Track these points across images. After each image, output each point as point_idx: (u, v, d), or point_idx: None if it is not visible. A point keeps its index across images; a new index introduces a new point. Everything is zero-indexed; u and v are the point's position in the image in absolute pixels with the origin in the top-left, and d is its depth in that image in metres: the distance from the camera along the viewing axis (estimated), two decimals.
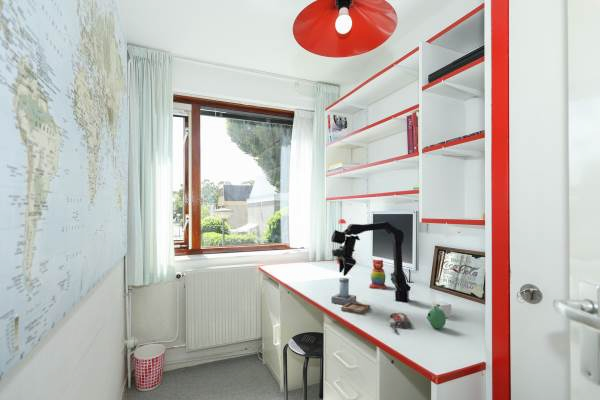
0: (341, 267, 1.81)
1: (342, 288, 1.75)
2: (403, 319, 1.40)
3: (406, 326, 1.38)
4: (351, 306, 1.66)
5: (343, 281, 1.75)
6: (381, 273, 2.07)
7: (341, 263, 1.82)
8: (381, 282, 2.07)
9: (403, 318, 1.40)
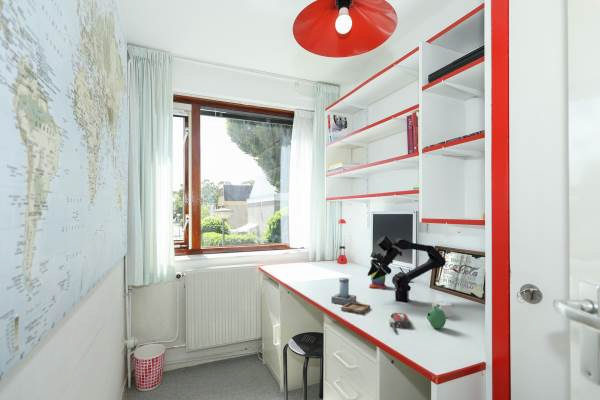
0: (371, 271, 1.83)
1: (342, 288, 1.75)
2: (403, 319, 1.40)
3: (406, 326, 1.38)
4: (351, 306, 1.66)
5: (343, 281, 1.75)
6: None
7: (373, 268, 1.83)
8: (381, 282, 2.07)
9: (403, 318, 1.40)
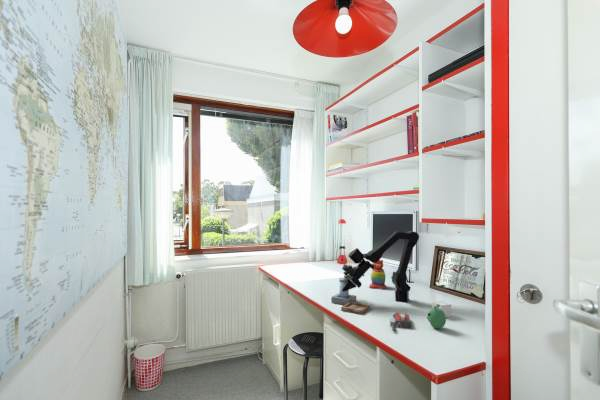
0: None
1: (342, 288, 1.75)
2: (403, 319, 1.40)
3: (406, 326, 1.38)
4: (351, 306, 1.66)
5: (343, 281, 1.75)
6: (381, 273, 2.07)
7: None
8: (381, 282, 2.07)
9: (403, 318, 1.40)
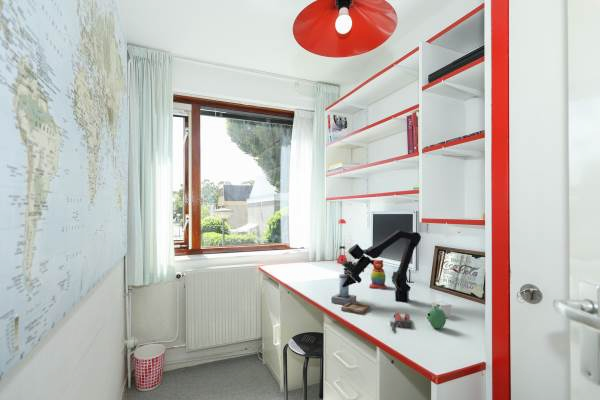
0: None
1: (342, 284, 1.75)
2: (403, 319, 1.40)
3: (406, 326, 1.38)
4: (351, 306, 1.66)
5: (343, 277, 1.75)
6: (381, 273, 2.07)
7: None
8: (381, 282, 2.07)
9: (403, 318, 1.40)
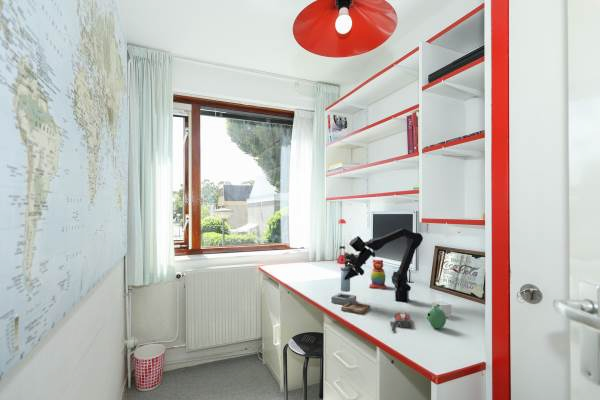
0: None
1: (343, 276, 1.72)
2: (403, 319, 1.40)
3: (406, 326, 1.38)
4: (351, 306, 1.66)
5: (345, 269, 1.72)
6: (381, 273, 2.07)
7: None
8: (381, 282, 2.07)
9: (403, 318, 1.40)
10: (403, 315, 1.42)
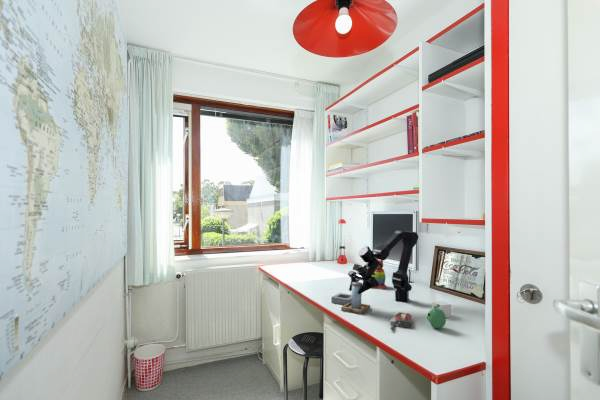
0: None
1: (356, 293, 1.61)
2: (404, 318, 1.40)
3: (406, 326, 1.38)
4: None
5: (358, 285, 1.62)
6: (381, 273, 2.07)
7: None
8: (381, 282, 2.07)
9: (404, 317, 1.41)
10: (404, 315, 1.43)
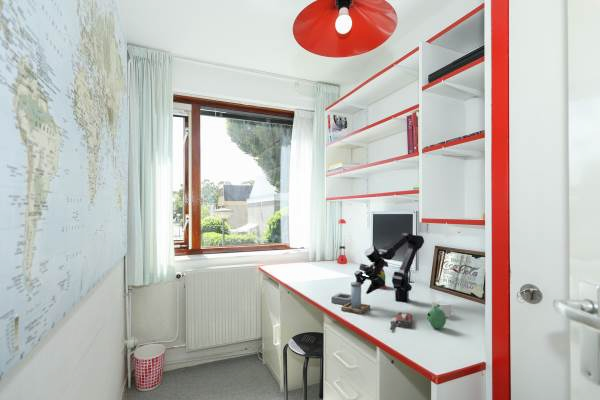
0: None
1: (356, 293, 1.61)
2: (404, 318, 1.40)
3: (406, 326, 1.38)
4: None
5: (357, 286, 1.61)
6: (381, 273, 2.07)
7: (359, 281, 1.71)
8: None
9: (404, 317, 1.41)
10: (404, 315, 1.43)
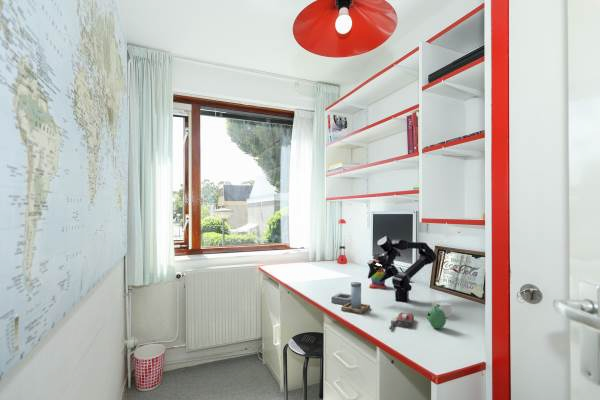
0: (371, 274, 1.76)
1: (356, 293, 1.61)
2: (404, 318, 1.41)
3: (406, 325, 1.39)
4: None
5: (357, 286, 1.61)
6: (381, 273, 2.07)
7: (372, 270, 1.76)
8: (381, 282, 2.07)
9: (404, 317, 1.41)
10: (405, 315, 1.43)
